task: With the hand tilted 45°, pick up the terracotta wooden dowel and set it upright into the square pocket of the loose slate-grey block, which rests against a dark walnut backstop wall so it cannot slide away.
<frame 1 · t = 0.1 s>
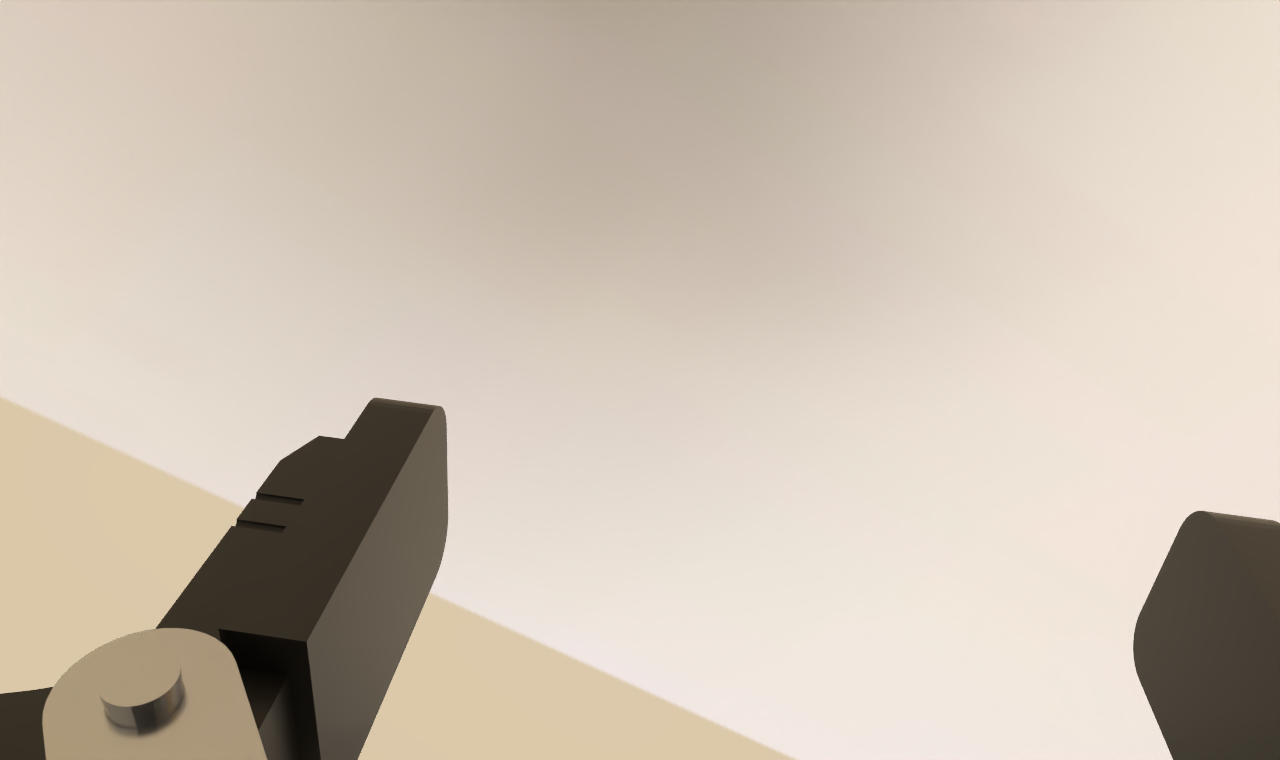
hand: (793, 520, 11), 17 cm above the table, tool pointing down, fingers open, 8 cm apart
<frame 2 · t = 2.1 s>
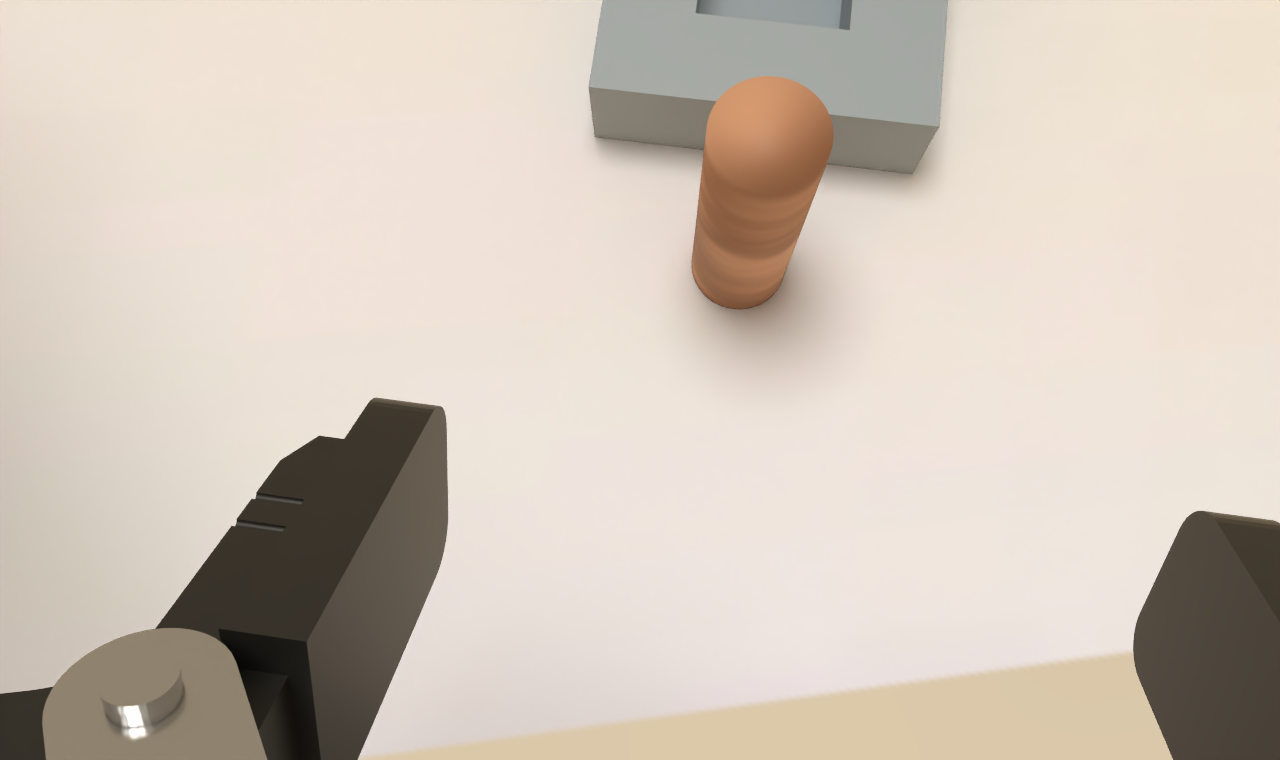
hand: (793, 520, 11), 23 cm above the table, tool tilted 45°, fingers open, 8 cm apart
pocket block: (767, 21, 39), on the table
dowel: (738, 264, 36), on the table
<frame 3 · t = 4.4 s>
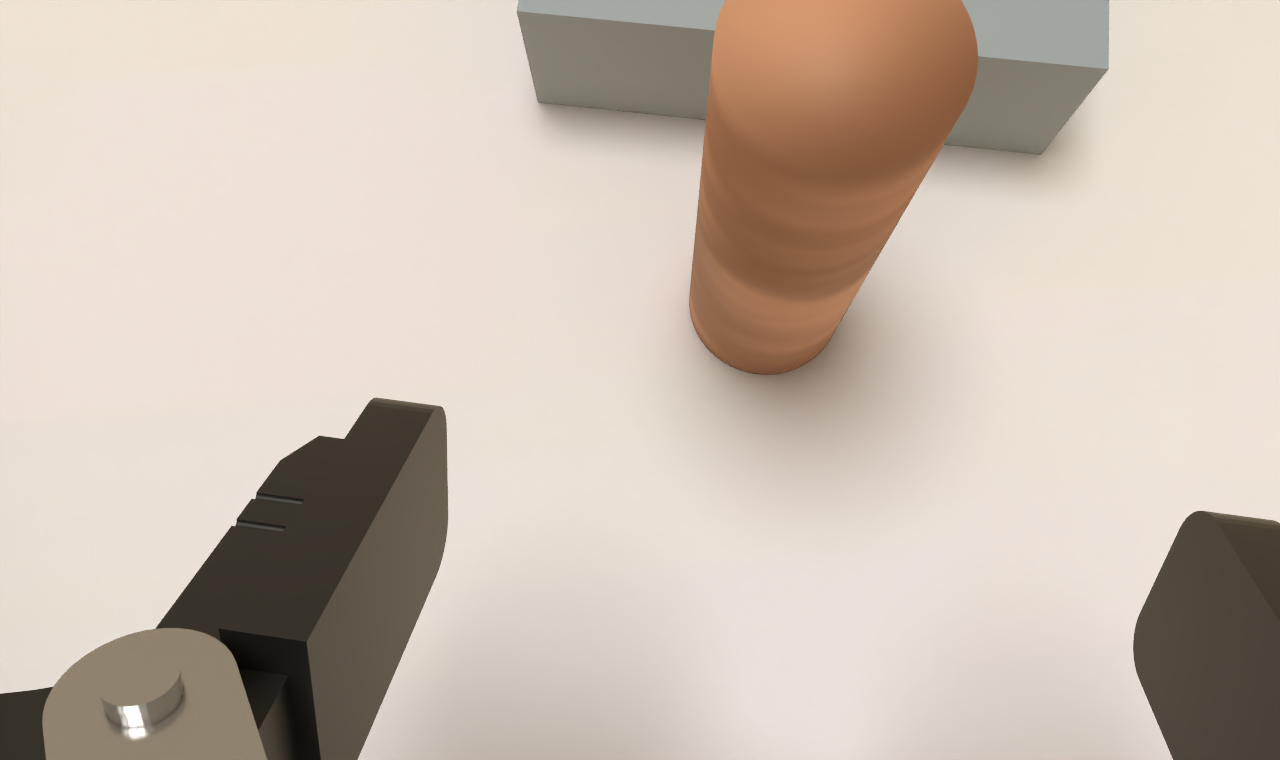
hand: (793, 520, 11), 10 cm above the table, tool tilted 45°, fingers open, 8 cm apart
dowel: (764, 301, 22), on the table
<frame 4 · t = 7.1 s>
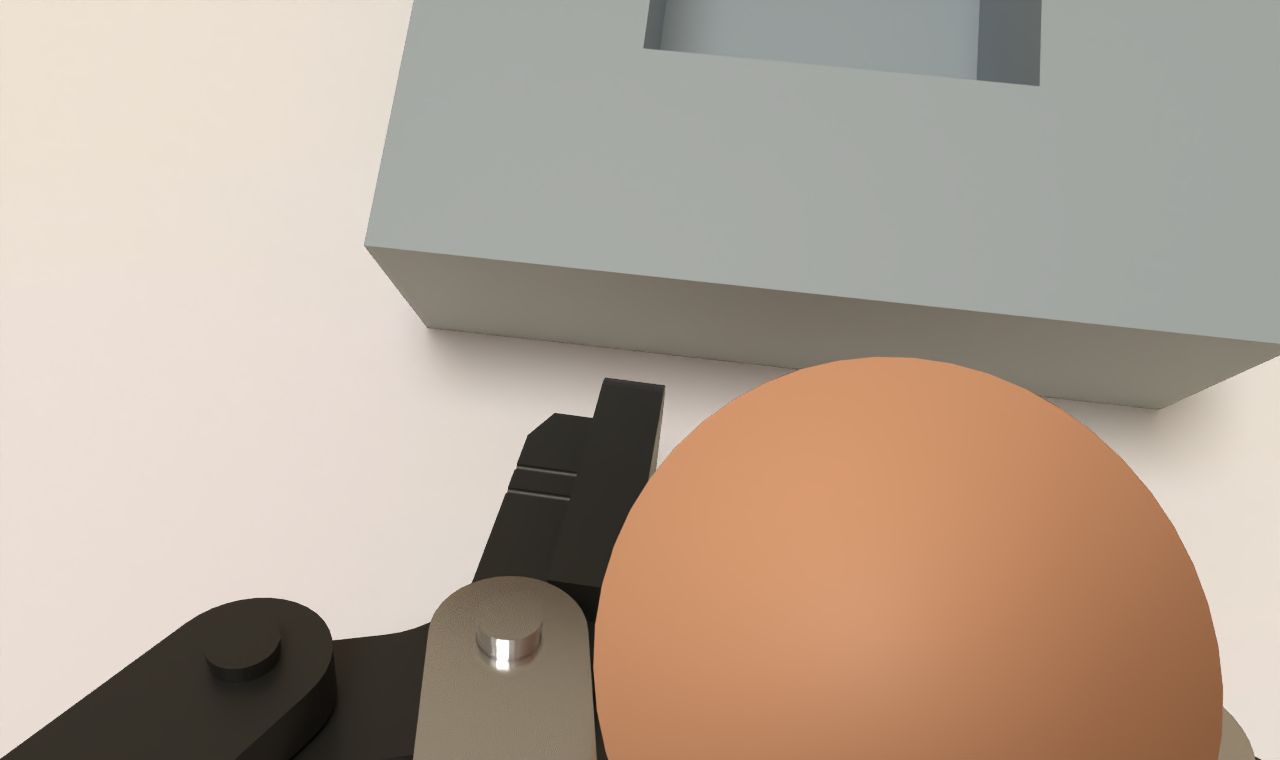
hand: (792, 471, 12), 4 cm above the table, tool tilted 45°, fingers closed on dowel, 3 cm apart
pocket block: (811, 57, 18), on the table
dowel: (745, 642, 15), on the table, touching gripper
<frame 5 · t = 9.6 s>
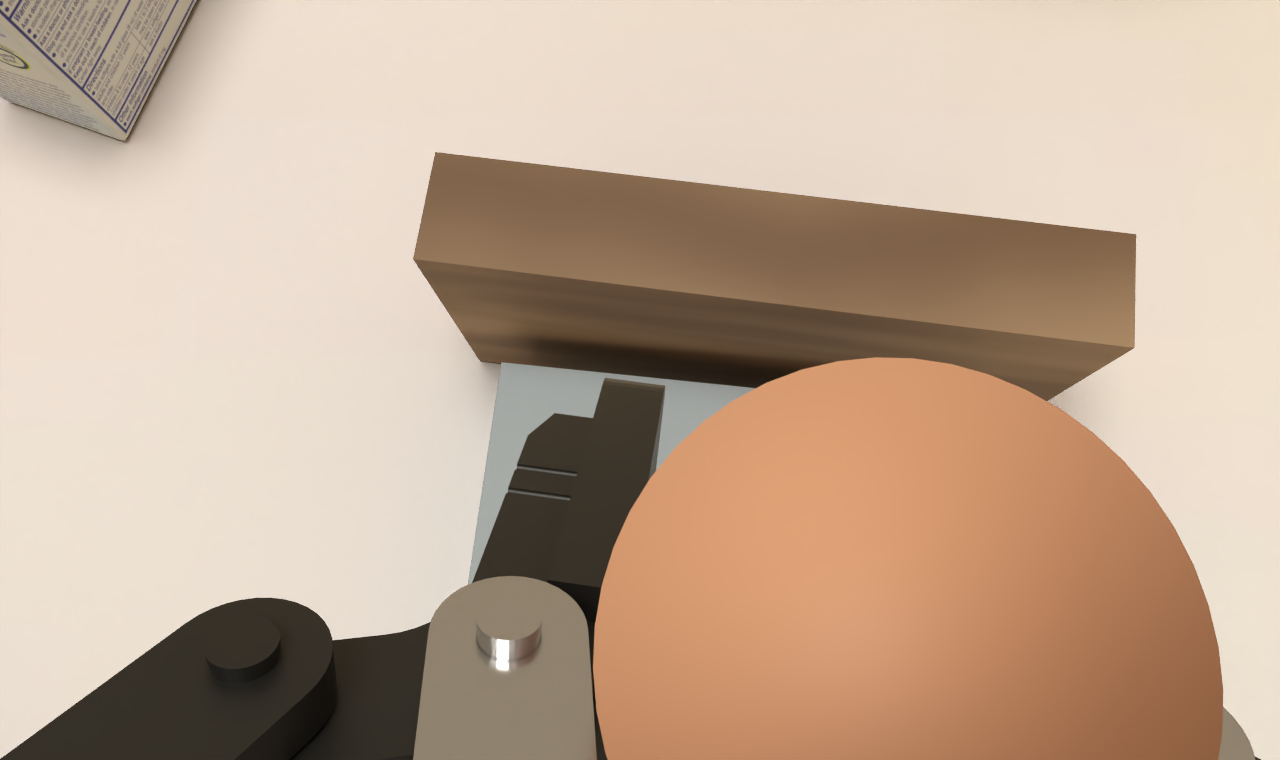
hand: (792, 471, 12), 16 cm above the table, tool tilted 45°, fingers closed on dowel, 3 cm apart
backstop wall: (742, 352, 29), on the table
pocket block: (709, 633, 27), on the table
dowel: (746, 642, 15), point 12 cm above the table, touching gripper
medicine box: (127, 25, 32), on the table
when the fingers open (6 cm above the table, at t = 12.3 s): dowel drops 1 cm, resting on pocket block.
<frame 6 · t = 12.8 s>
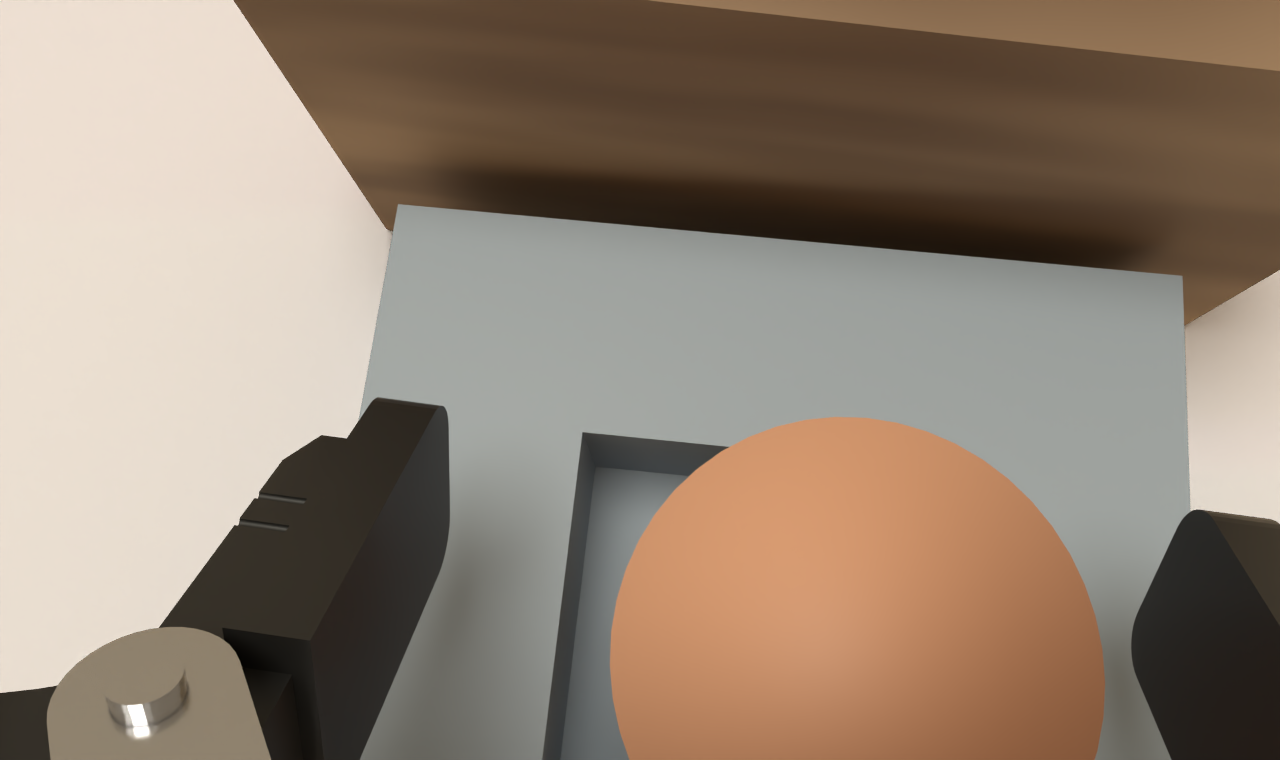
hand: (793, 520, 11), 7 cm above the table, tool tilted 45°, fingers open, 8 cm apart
backstop wall: (781, 217, 19), on the table
pocket block: (732, 641, 17), on the table, touching dowel
dowel: (737, 645, 16), resting on pocket block
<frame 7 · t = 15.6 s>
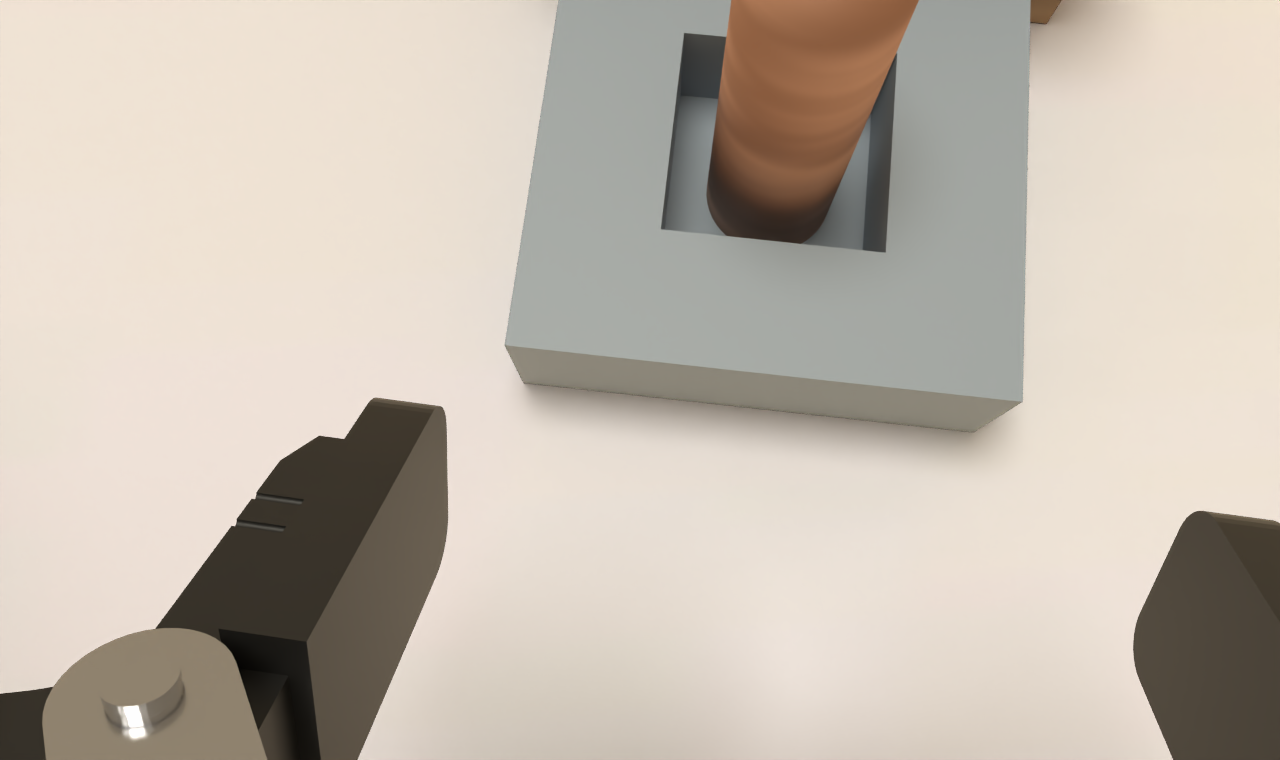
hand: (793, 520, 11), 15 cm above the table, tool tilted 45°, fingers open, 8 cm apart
pocket block: (763, 207, 28), on the table, touching dowel
dowel: (768, 194, 27), resting on pocket block
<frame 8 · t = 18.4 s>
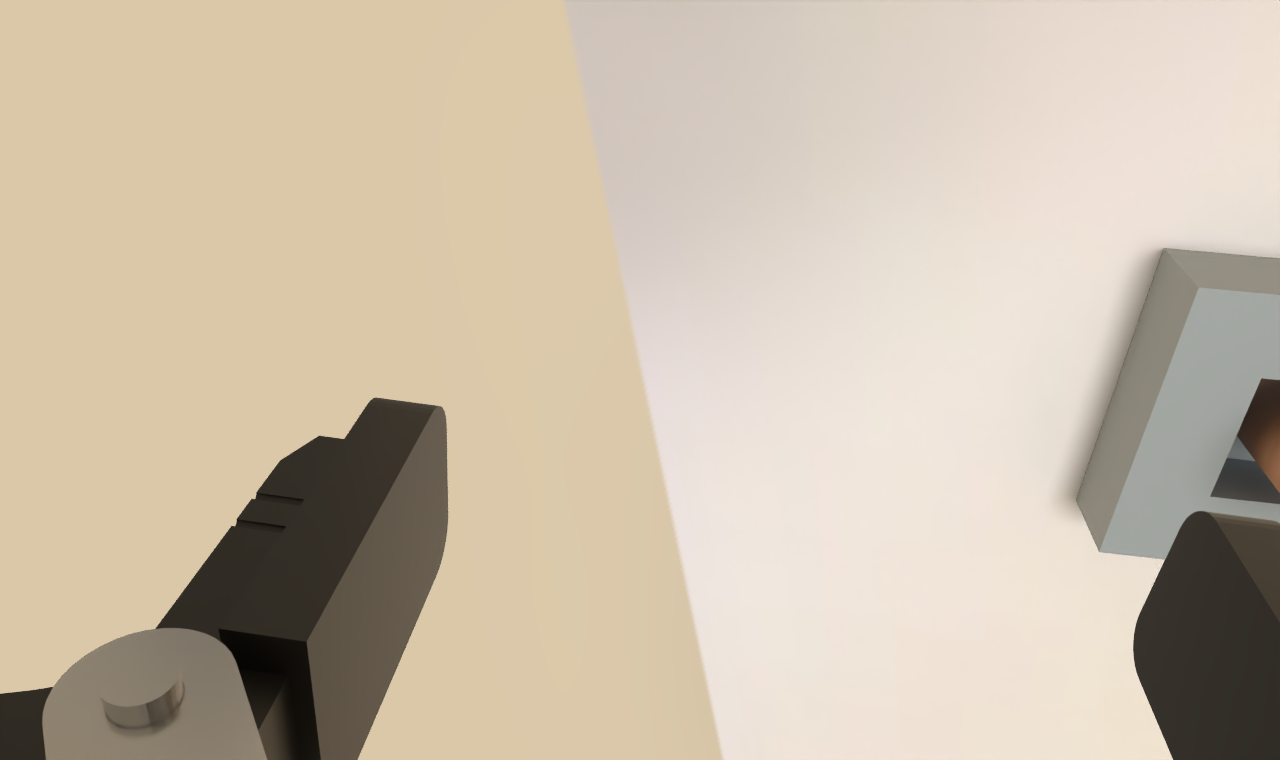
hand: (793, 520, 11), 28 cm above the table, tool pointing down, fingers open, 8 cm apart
pocket block: (1263, 392, 41), on the table, touching dowel
dowel: (1272, 405, 40), resting on pocket block
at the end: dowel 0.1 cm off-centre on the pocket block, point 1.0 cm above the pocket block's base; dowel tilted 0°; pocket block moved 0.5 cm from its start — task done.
